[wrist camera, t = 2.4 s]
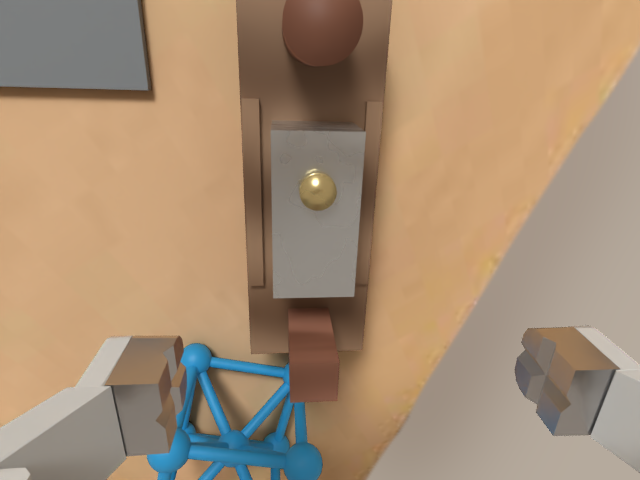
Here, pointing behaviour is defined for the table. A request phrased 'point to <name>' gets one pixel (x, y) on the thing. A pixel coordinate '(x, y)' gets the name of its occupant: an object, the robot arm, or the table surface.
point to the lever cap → (315, 207)
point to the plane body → (256, 118)
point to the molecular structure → (233, 444)
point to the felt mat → (73, 44)
